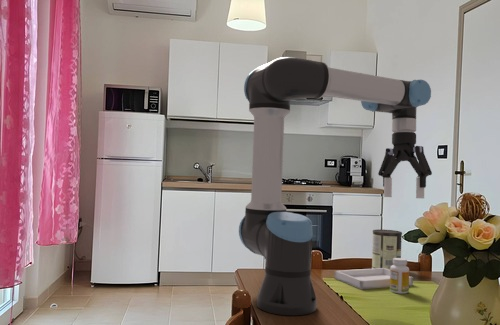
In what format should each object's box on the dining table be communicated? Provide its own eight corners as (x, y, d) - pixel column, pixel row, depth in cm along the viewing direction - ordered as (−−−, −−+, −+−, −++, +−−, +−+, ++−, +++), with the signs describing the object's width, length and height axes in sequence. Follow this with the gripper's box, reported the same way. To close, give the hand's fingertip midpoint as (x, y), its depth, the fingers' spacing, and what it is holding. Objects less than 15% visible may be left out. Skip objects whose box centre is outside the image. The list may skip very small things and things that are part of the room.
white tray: (361, 289, 136) (361, 281, 136) (334, 278, 148) (334, 270, 148) (412, 285, 144) (413, 277, 144) (383, 275, 156) (383, 267, 156)
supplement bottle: (408, 290, 137) (409, 258, 137) (409, 295, 132) (410, 261, 132) (389, 288, 138) (390, 256, 138) (389, 292, 133) (390, 259, 133)
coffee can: (388, 266, 172) (389, 229, 173) (406, 272, 163) (408, 232, 163) (365, 267, 168) (366, 229, 169) (383, 273, 159) (384, 233, 159)
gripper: (444, 129, 139) (443, 199, 138) (384, 136, 161) (383, 196, 160) (427, 127, 136) (426, 198, 134) (368, 135, 158) (367, 196, 156)
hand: (403, 197), depth 147 cm, fingers open, 13 cm apart
